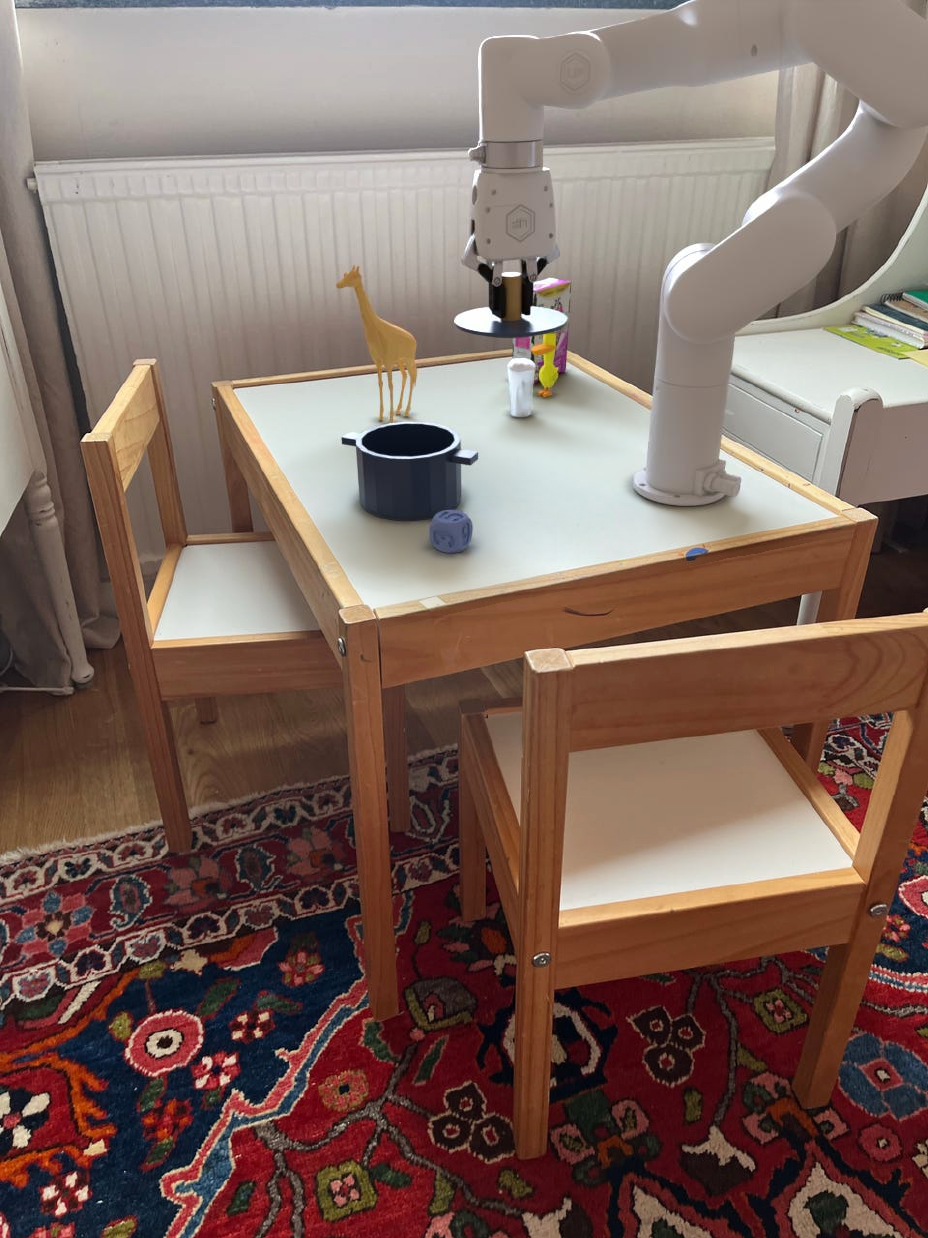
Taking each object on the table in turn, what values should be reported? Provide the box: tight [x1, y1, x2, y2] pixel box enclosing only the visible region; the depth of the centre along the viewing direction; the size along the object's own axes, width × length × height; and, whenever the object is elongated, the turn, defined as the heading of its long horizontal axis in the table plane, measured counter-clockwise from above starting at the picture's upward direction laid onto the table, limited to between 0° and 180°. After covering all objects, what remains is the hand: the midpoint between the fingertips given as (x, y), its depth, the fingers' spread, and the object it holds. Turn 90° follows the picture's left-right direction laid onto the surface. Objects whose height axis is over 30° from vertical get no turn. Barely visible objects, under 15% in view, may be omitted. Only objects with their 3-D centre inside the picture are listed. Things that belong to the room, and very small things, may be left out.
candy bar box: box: [511, 277, 572, 385], centre depth 173 cm, size 11×5×16 cm, turn 141°
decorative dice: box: [428, 509, 474, 554], centre depth 117 cm, size 4×4×4 cm
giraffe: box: [335, 264, 418, 424], centre depth 151 cm, size 16×4×25 cm, turn 141°
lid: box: [453, 271, 568, 339], centre depth 124 cm, size 15×15×7 cm
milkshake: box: [506, 355, 541, 418], centre depth 157 cm, size 5×5×10 cm
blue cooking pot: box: [340, 421, 479, 522], centre depth 128 cm, size 14×19×8 cm
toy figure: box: [531, 331, 559, 398], centre depth 165 cm, size 7×4×12 cm, turn 133°
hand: (511, 313), depth 124 cm, fingers closed on lid, 2 cm apart
